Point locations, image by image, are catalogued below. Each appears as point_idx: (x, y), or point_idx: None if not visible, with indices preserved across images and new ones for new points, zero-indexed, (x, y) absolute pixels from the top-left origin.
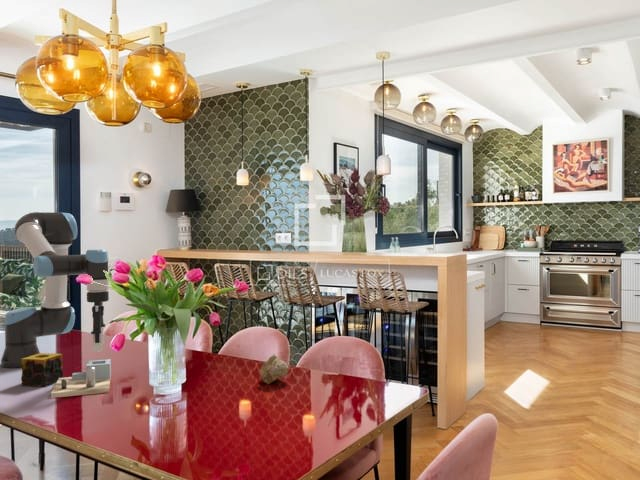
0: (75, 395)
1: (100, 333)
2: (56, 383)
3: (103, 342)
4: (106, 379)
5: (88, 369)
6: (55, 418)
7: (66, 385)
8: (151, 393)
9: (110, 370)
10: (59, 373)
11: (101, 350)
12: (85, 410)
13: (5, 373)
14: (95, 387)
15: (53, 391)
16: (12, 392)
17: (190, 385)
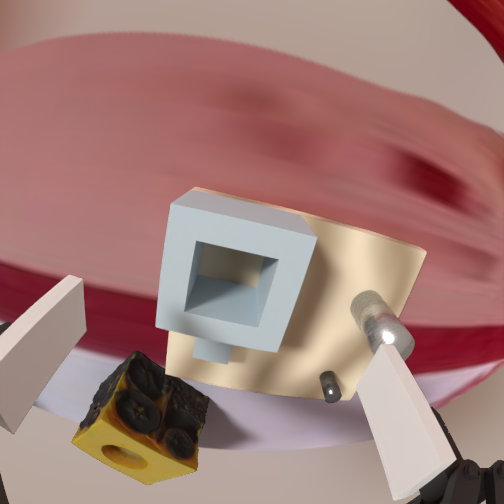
0: None
1: (466, 460)
2: (240, 388)
3: (72, 288)
4: None
5: (406, 356)
6: (478, 366)
7: (333, 377)
8: (495, 136)
9: (235, 204)
10: (139, 375)
11: (396, 350)
12: (490, 319)
13: (43, 409)
14: (393, 292)
15: None
16: (222, 442)
17: (469, 14)
